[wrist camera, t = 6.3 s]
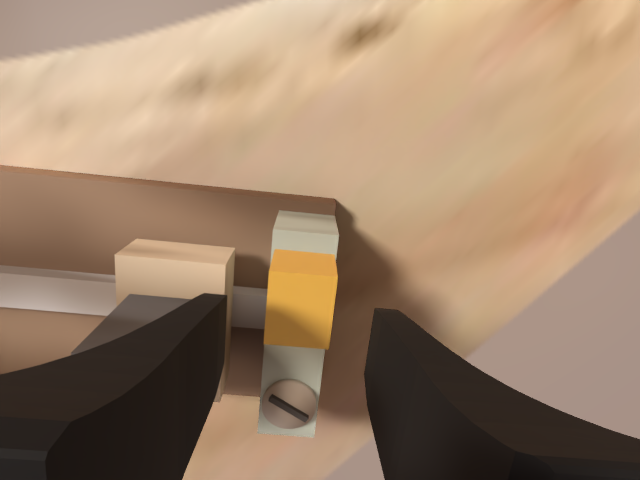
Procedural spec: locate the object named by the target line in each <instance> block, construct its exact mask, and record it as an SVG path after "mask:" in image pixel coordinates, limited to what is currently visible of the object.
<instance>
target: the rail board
mask: <svg viewBox="0 0 640 480" xmlns="http://www.w3.org/2000/svg"><path fill="white" fill-rule="evenodd" d="M335 210H336V202H335V199H332V198H322V197H312V196H302V195H292V194H282V193H272V192H262V191H252V190H242V189H232V188H222V187H212V186H202V185H192V184H182V183H172V182H162V181H152V180H142V179H132V178H122V177H112V176H102V175H93V174H83V173H73V172H63V171H53V170H43V169H33V168H23V167H13V166H3V165H0V374H4V373H9V372H13V371H17V370H21V369H25V368H29V367H33V366H37V365H41V364H44V363H47V362H50V361H54V360H57V359H60V358H64V357H67V356H70V355H71V352H72V351H73V350H74V349H75V348H76V347H77V346H78V345H79V344H80V343H81V342H82V341H83V340H84V339H85V338H86V337H87V336H88V335H89V334H90V333H91V332H92V331H93V330H94V329H95V328H96V327H97V326H98V325H99V324H100V323H101V322H102V321H103V320H104V319H105V318H106V317H107V316H108V315H109V314H110V313H111V312H112V311H113V310H114V309H115V308H116V307H117V304H116V279H115V254H116V253H118V252H119V251H120V250H122V249H123V248H124V247H126V246H127V245H129V244H130V243H131V242H133V241H134V240H135V239H146V240H157V241H167V242H178V243H189V244H199V245H210V246H221V247H231V248H235V262H234V282H233V302H232V323H231V343H230V364H229V375H228V378H227V381H226V384H225V387H224V391H223V394H231V395H244V396H257V397H260V408H259V421H258V433H259V434H273V435H287V436H300V437H314V434H315V426H316V418H317V410H318V402H319V394H320V386H321V378H322V370H323V361H324V353H325V349H316V348H304V347H292V346H280V345H268V344H264V330H265V317H266V304H267V290H268V277H269V269H270V265H271V261H272V258H273V254H274V250H275V249H281V250H292V251H303V252H313V253H324V254H334V255H335V261H336V256H337V248H338V240H339V233H338V228H337V224H336V219H335Z"/></svg>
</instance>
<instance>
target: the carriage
mask: <svg viewBox="0 0 640 480" xmlns="http://www.w3.org/2000/svg"><path fill="white" fill-rule="evenodd" d="M234 262H235V248H231V247H221V246H210V245H199V244H189V243H178V242H167V241H157V240H146V239H135V240H134V241H133V242H131V243H130V244H129V245H127V246H126V247H124V248H123V249H122V250H120V251H119V252H118V253H116V254H115V279H116V304H117V307H116V308H115V309H114V310H113V311H112V312H111V313H110V314H109V315H108V316H107V317H106V318H105V319H104V320H103V321H102V322H101V323H100V324H99V325H98V326H97V327H96V328H95V329H94V330H93V331H92V332H91V333H90V334H89V335H88V336H87V337H86V338H85V339H84V340H83V341H82V342H81V343H80V344H79V345H78V346H77V347H76V348H75V349H74V350H73V351H72V352H71V355H74V354H77V353H80V352H83V351H86V350H89V349H91V348H94V347H97V346H99V345H102V344H105V343H107V342H110V341H112V340H114V339H117V338H119V337H121V336H124V335H126V334H128V333H130V332H132V331H134V330H136V329H138V328H140V327H142V326H144V325H146V324H148V323H150V322H152V321H154V320H156V319H158V318H160V317H162V316H163V315H165V314H167V313H169V312H170V311H172V310H174V309H176V308H178V307H179V306H181V305H183V304H184V303H186V302H188V301H190V300H191V299H193V298H195V297H197V296H199V295H201V294H203V293H210V294H222V295H227V316H226V339H225V361H224V366H223V370H222V374H221V378H220V382H219V386H218V390H217V393H216V397H215V399H214V402H220V400H221V397H222V394H223V391H224V387H225V384H226V381H227V378H228V375H229V364H230V343H231V323H232V302H233V282H234Z"/></svg>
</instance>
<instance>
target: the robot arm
mask: <svg viewBox="0 0 640 480" xmlns="http://www.w3.org/2000/svg"><path fill="white" fill-rule="evenodd" d="M226 316H227V295H222V294H210V293H203V294H201V295H199V296H197V297H195V298H193V299H191V300H190V301H188V302H186V303H184V304H183V305H181V306H179V307H178V308H176V309H174V310H172V311H170V312H169V313H167V314H165V315H163V316H162V317H160V318H158V319H156V320H154V321H152V322H150V323H148V324H146V325H144V326H142V327H140V328H138V329H136V330H134V331H132V332H130V333H128V334H126V335H124V336H121V337H119V338H117V339H114V340H112V341H110V342H107V343H105V344H102V345H99V346H97V347H94V348H91V349H89V350H86V351H83V352H80V353H77V354H74V355H70V356H67V357H64V358H60V359H57V360H54V361H50V362H47V363H44V364H41V365H37V366H33V367H29V368H25V369H21V370H17V371H13V372H9V373H4V374H0V480H182V478H183V476H184V473H185V470H186V468H187V465H188V463H189V461H190V458H191V456H192V453H193V451H194V448H195V446H196V443H197V441H198V439H199V436H200V434H201V431H202V429H203V426H204V424H205V422H206V419H207V417H208V414H209V412H210V409H211V407H212V404H213V402H214V399H215V397H216V393H217V390H218V386H219V382H220V378H221V374H222V370H223V366H224V361H225V339H226ZM364 376H365V388H366V398H367V407H368V411H369V416H370V420H371V424H372V429H373V433H374V437H375V441H376V445H377V449H378V453H379V458H380V462H381V466H382V470H383V474H384V478H385V480H640V439H637V438H634V437H631V436H627V435H624V434H621V433H618V432H615V431H612V430H609V429H606V428H603V427H601V426H598V425H595V424H593V423H590V422H587V421H585V420H582V419H580V418H577V417H574V416H572V415H569V414H567V413H564V412H562V411H559V410H557V409H555V408H553V407H550V406H548V405H546V404H544V403H542V402H540V401H537V400H535V399H533V398H531V397H529V396H527V395H525V394H523V393H521V392H518V391H517V390H514V389H513V388H511V387H509V386H507V385H505V384H503V383H502V382H500V381H498V380H496V379H495V378H493V377H491V376H489V375H488V374H486V373H484V372H482V371H481V370H479V369H478V368H476V367H474V366H472V365H471V364H470V363H468V362H467V361H465V360H464V359H462V358H461V357H460V356H458V355H457V354H455V353H454V352H452V351H451V350H450V349H448V348H447V347H445V346H444V345H443V344H441V343H440V342H439V341H437V340H436V339H435V338H434V337H432V336H431V335H430V334H428V333H427V332H426V331H425V330H423V329H422V328H421V327H420V326H418V325H417V324H416V323H415V322H413V321H412V320H411V319H410V318H408V317H407V316H406V315H404V314H403V313H401V312H400V311H398V310H391V309H380V308H375V309H374V316H373V322H372V328H371V335H370V341H369V347H368V354H367V360H366V366H365V373H364Z"/></svg>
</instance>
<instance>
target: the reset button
mask: <svg viewBox="0 0 640 480" xmlns="http://www.w3.org/2000/svg"><path fill="white" fill-rule="evenodd" d="M337 281H338V274H337V267H336V261H335V255H334V254H324V253H313V252H303V251H292V250H281V249H275V250H274V254H273V258H272V261H271V265H270V269H269V277H268V290H267V304H266V317H265V330H264V344H268V345H280V346H292V347H304V348H316V349H328V350H329V344H330V336H331V328H332V320H333V313H334V305H335V297H336V289H337Z"/></svg>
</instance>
